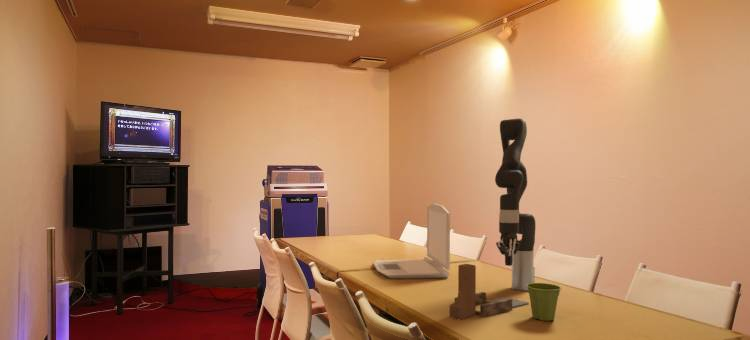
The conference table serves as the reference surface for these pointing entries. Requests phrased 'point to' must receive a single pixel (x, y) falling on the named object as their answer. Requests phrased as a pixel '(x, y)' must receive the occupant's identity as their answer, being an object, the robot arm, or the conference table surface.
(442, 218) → the laptop
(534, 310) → the plant pot
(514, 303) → the pad
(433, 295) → the conference table surface
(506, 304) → the wooden frame
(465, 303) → the wooden block
